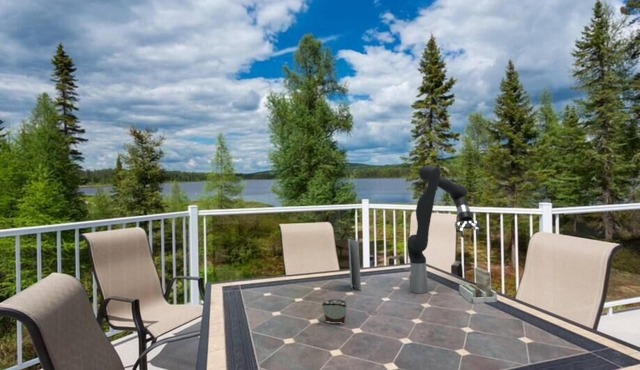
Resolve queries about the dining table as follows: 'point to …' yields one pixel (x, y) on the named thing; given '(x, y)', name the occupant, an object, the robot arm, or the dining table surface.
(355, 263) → the dark grey tall slab
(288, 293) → the dining table surface
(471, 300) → the rack
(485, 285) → the grey green board
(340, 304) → the food container
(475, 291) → the sage offcut board
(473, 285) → the grey green block
